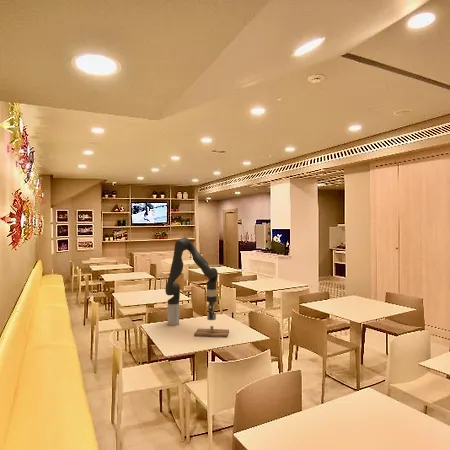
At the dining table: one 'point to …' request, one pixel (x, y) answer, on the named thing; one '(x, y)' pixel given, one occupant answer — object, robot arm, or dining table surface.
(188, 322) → the dining table surface
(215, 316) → the steel ring
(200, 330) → the post base
